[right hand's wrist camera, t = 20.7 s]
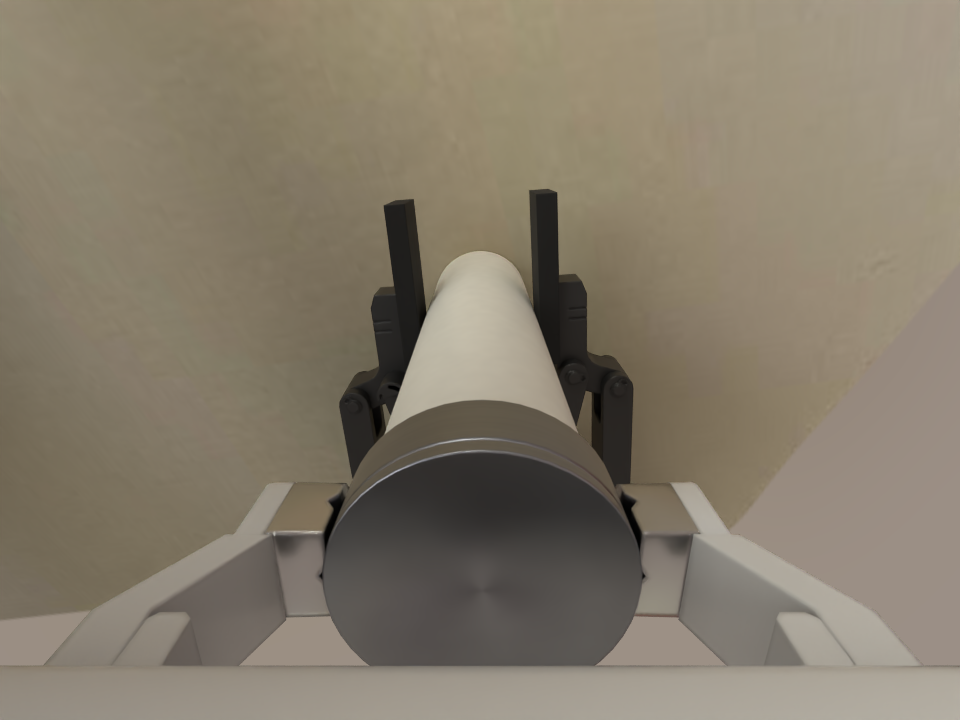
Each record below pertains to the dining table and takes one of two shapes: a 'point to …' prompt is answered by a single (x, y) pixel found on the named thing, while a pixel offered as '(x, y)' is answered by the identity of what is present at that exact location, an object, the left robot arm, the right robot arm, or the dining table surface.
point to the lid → (482, 544)
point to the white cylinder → (480, 344)
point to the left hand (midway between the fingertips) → (470, 198)
